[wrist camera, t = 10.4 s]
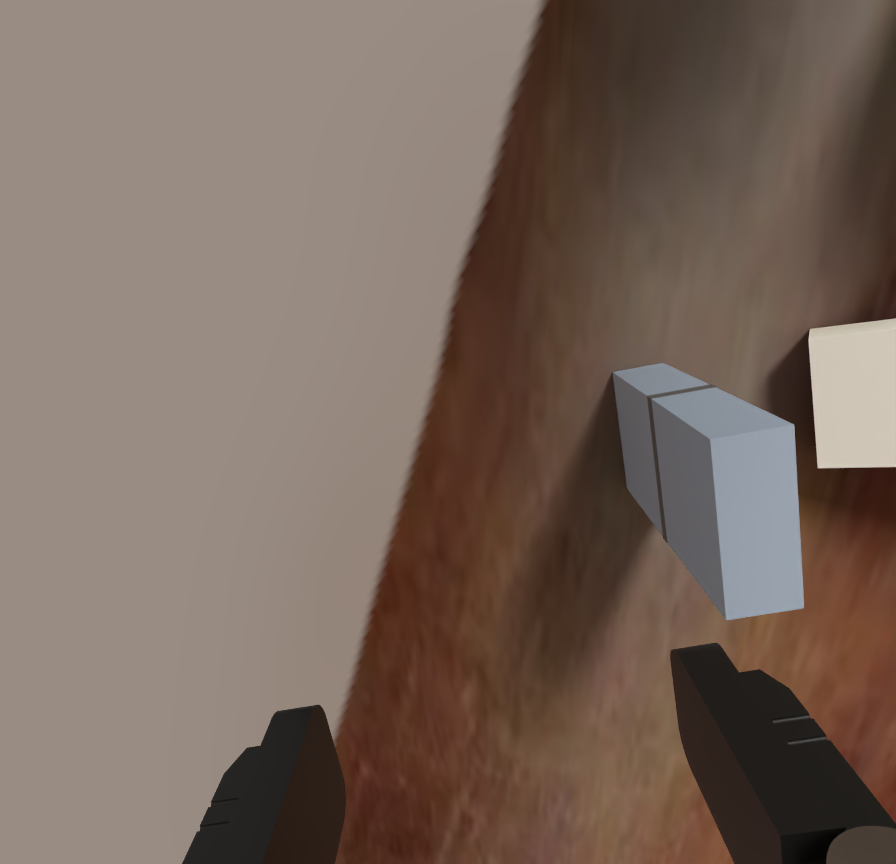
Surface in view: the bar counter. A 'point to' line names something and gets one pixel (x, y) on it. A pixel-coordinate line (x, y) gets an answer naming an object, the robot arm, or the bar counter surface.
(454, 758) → the bar counter surface
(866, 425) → the domino
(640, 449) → the domino
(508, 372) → the bar counter surface
